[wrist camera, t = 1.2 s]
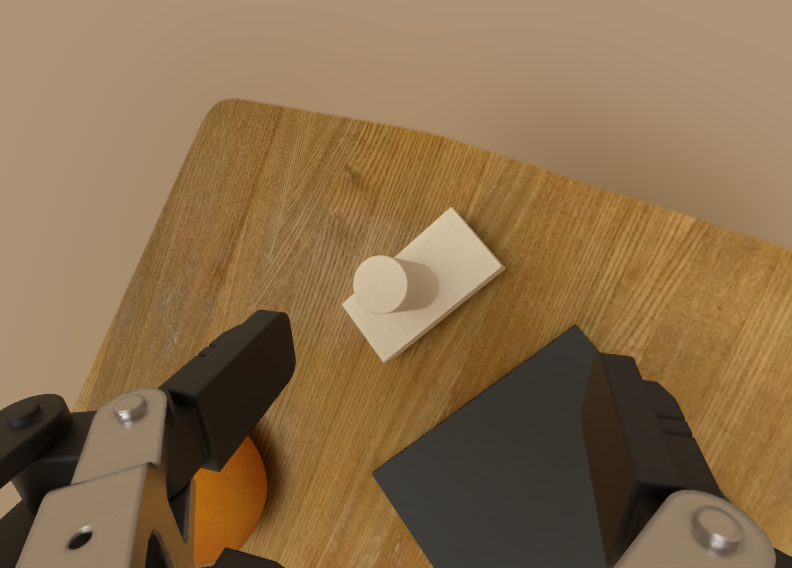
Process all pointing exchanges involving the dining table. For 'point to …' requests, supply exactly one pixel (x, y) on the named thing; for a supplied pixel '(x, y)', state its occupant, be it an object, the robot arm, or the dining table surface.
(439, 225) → the cream block with cylinder
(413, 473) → the scrub mat
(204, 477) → the fruit
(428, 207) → the dining table surface
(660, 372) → the dining table surface
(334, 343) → the dining table surface
